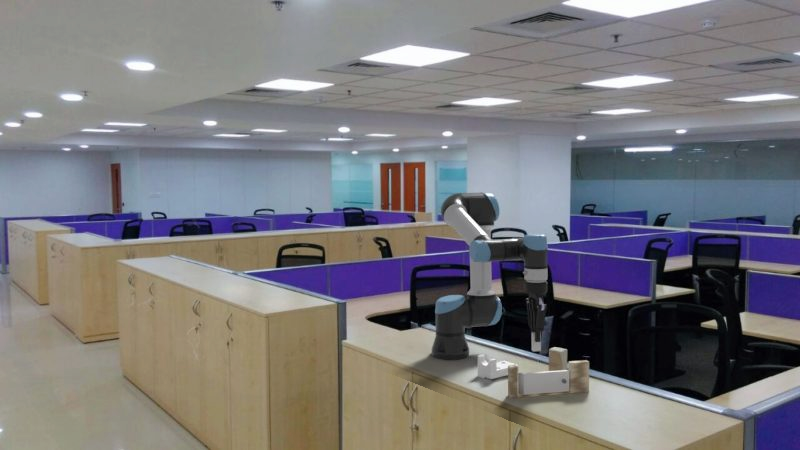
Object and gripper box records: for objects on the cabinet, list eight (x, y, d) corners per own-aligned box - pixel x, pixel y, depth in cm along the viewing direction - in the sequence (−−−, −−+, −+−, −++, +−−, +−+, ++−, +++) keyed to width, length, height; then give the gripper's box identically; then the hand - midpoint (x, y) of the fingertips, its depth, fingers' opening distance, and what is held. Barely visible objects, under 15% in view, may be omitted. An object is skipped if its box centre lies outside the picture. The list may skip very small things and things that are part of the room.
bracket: (490, 381, 211) (490, 360, 210) (477, 376, 217) (477, 355, 216) (518, 374, 218) (518, 354, 217) (505, 369, 224) (505, 349, 223)
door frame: (510, 398, 194) (510, 367, 194) (507, 395, 197) (507, 364, 196) (589, 392, 198) (589, 362, 198) (585, 389, 201) (585, 359, 200)
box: (547, 380, 211) (547, 348, 210) (553, 377, 214) (554, 346, 213) (561, 383, 207) (561, 351, 207) (567, 380, 211) (567, 348, 210)
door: (520, 396, 194) (519, 374, 194) (517, 393, 197) (517, 372, 196) (570, 392, 197) (570, 370, 197) (567, 389, 199) (567, 368, 199)
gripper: (518, 278, 208) (518, 346, 209) (532, 284, 195) (532, 356, 196) (539, 277, 209) (539, 345, 210) (554, 283, 196) (554, 355, 197)
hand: (536, 350), depth 203 cm, fingers closed
